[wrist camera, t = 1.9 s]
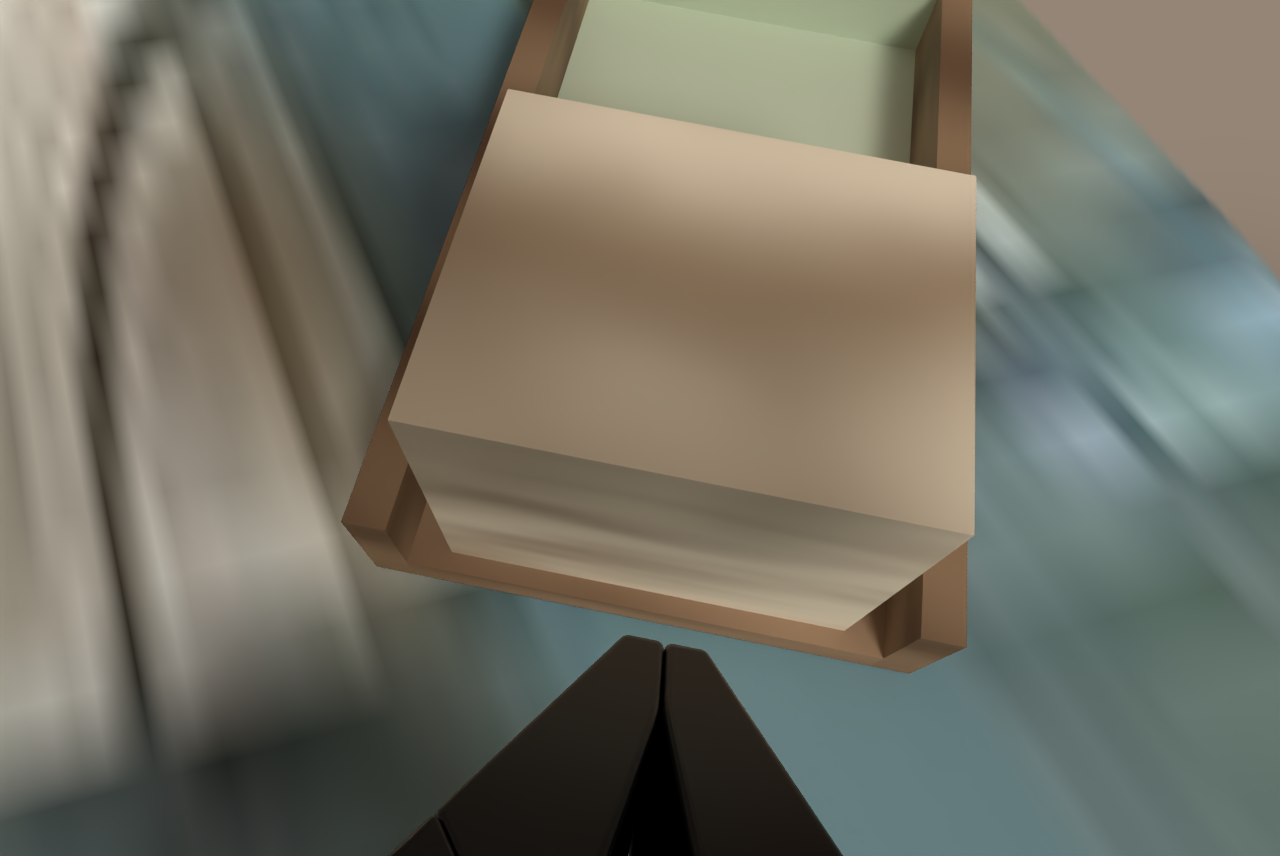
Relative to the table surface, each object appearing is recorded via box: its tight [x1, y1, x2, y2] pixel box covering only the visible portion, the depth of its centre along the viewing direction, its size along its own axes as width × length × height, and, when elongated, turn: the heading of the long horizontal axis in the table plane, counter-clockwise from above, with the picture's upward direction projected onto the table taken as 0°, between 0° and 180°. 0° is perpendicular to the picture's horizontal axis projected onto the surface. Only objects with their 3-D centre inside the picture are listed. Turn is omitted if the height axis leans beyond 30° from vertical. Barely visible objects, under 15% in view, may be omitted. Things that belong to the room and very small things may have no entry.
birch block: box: [388, 89, 976, 631], centre depth 19 cm, size 8×10×8 cm
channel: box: [341, 0, 972, 673], centre depth 25 cm, size 23×14×4 cm, turn 169°
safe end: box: [558, 0, 937, 164], centre depth 28 cm, size 10×14×4 cm
